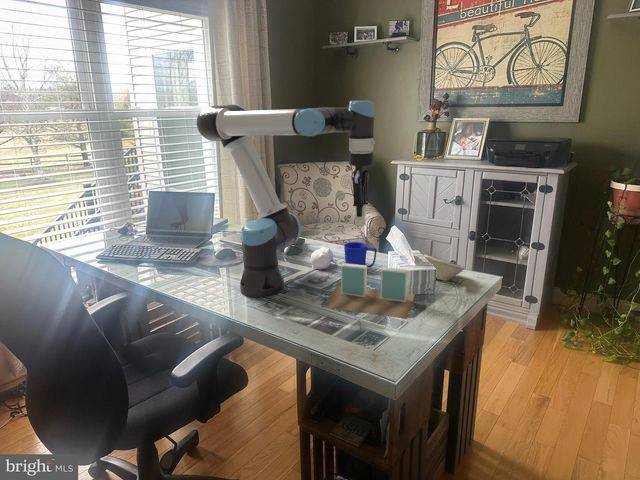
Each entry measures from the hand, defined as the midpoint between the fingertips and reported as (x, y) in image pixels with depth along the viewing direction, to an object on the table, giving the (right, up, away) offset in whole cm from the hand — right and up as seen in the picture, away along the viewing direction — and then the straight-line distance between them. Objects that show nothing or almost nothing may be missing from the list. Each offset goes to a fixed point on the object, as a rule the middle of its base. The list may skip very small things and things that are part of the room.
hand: (360, 224), depth 146 cm
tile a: (-2, -23, -1) cm, 23 cm away
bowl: (+30, -19, +13) cm, 38 cm away
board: (+2, -25, -5) cm, 26 cm away
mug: (+2, -17, +22) cm, 28 cm away
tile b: (+10, -24, -5) cm, 26 cm away
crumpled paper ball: (-11, -16, +26) cm, 33 cm away
